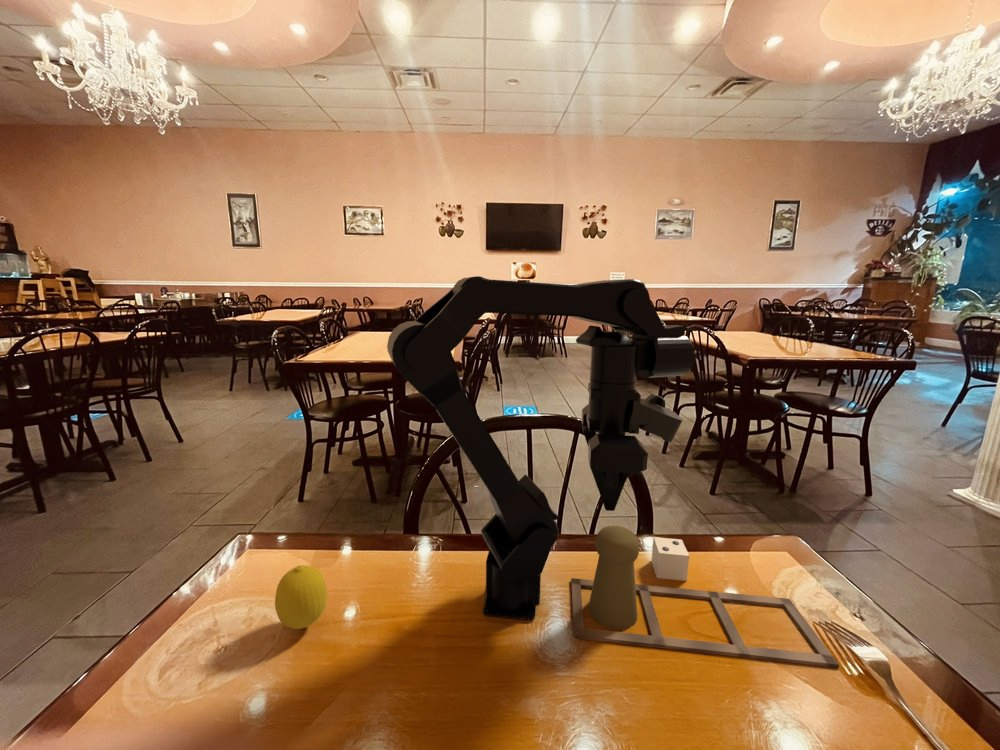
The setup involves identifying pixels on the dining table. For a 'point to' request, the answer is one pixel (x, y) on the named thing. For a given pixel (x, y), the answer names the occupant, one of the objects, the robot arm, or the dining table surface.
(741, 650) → the three-pane window frame
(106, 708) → the dining table surface
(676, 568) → the die
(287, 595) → the lemon
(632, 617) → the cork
